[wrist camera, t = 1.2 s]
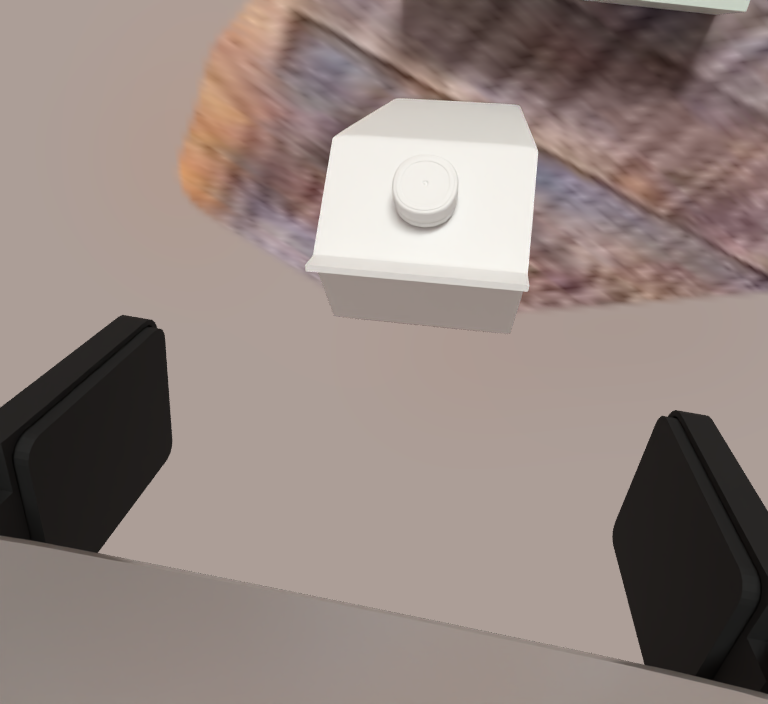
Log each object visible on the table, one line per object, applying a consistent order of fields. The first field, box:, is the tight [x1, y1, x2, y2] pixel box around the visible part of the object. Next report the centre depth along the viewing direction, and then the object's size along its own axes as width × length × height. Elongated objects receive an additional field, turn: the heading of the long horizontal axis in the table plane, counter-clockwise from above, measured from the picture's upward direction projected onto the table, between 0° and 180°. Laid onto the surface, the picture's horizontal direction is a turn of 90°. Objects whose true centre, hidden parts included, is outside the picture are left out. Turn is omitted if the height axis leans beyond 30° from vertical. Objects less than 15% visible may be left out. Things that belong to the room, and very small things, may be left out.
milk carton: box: [305, 98, 538, 334], centre depth 27 cm, size 7×7×19 cm
